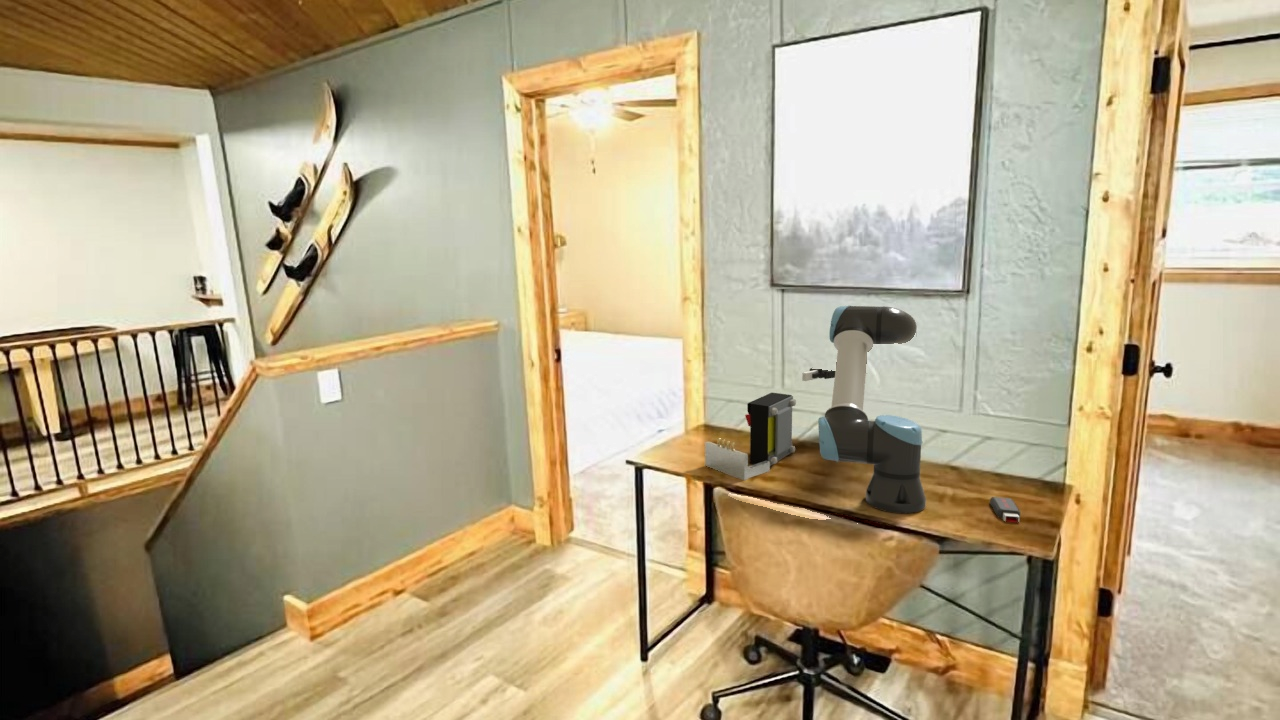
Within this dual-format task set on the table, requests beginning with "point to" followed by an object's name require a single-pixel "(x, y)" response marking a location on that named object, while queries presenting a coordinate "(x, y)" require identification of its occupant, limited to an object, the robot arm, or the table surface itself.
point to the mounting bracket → (732, 461)
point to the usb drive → (1005, 509)
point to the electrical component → (770, 427)
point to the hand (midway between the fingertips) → (804, 376)
